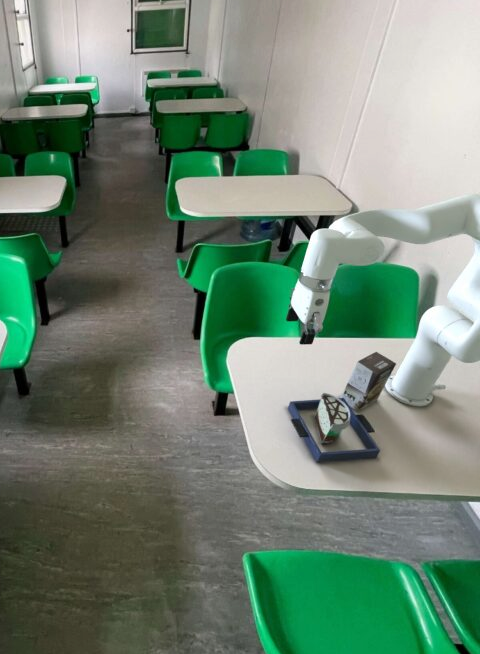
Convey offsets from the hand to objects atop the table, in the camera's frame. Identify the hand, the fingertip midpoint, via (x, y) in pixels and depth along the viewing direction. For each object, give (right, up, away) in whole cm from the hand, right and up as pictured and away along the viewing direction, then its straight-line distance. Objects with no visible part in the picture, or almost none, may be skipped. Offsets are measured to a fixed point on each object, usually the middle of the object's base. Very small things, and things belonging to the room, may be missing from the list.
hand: (298, 331), depth 114 cm
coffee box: (+27, -23, +18) cm, 40 cm away
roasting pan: (+13, -30, +8) cm, 34 cm away
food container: (+13, -30, +9) cm, 34 cm away
